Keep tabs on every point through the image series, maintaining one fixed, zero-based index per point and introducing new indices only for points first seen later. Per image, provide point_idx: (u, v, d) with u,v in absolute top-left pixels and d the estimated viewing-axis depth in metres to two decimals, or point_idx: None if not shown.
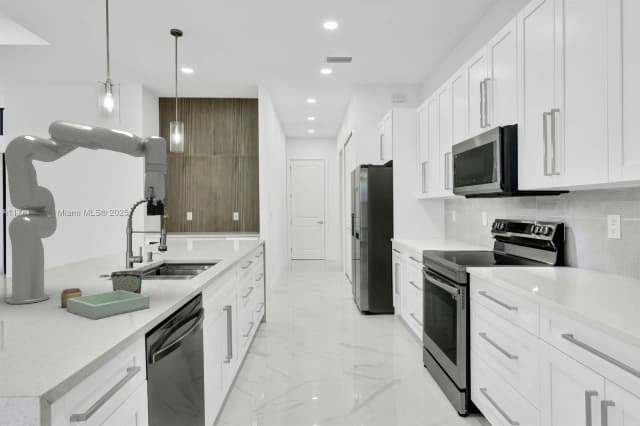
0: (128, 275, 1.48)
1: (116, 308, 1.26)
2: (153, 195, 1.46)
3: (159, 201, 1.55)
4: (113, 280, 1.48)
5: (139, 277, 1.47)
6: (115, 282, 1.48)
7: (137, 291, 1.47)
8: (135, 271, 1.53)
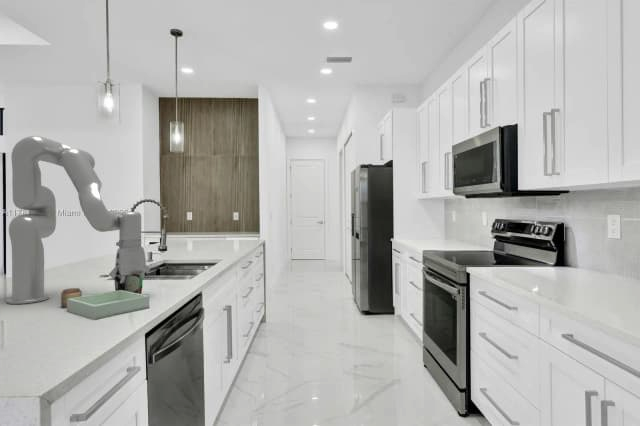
0: (129, 275, 1.48)
1: (116, 308, 1.26)
2: None
3: (119, 279, 1.47)
4: None
5: (139, 277, 1.47)
6: None
7: (137, 291, 1.47)
8: None
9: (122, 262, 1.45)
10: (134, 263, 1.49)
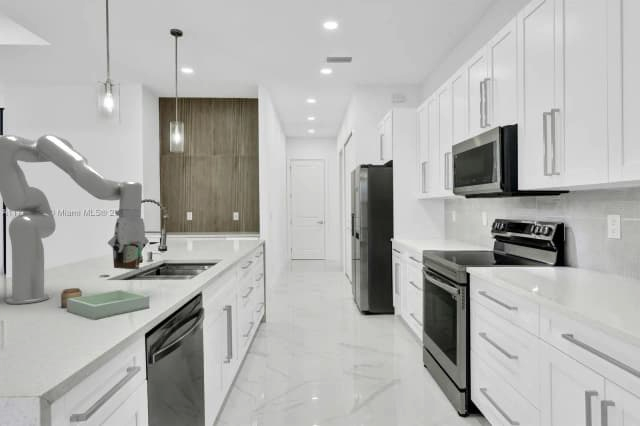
0: None
1: (116, 308, 1.26)
2: None
3: None
4: None
5: (138, 247, 1.47)
6: None
7: (135, 261, 1.47)
8: None
9: (121, 231, 1.45)
10: (133, 233, 1.49)
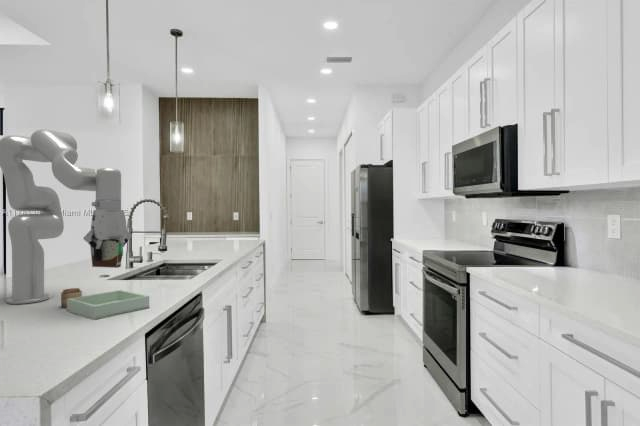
0: (107, 240, 1.30)
1: (116, 308, 1.26)
2: None
3: None
4: None
5: (118, 242, 1.30)
6: None
7: (116, 258, 1.30)
8: None
9: (98, 224, 1.28)
10: (112, 226, 1.31)
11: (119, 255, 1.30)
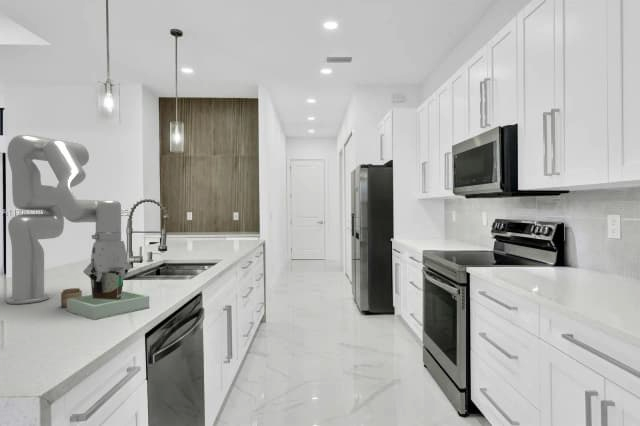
0: (107, 272, 1.30)
1: (116, 308, 1.26)
2: None
3: None
4: None
5: (118, 274, 1.30)
6: None
7: (116, 290, 1.30)
8: None
9: (98, 257, 1.28)
10: (112, 258, 1.31)
11: (119, 287, 1.30)
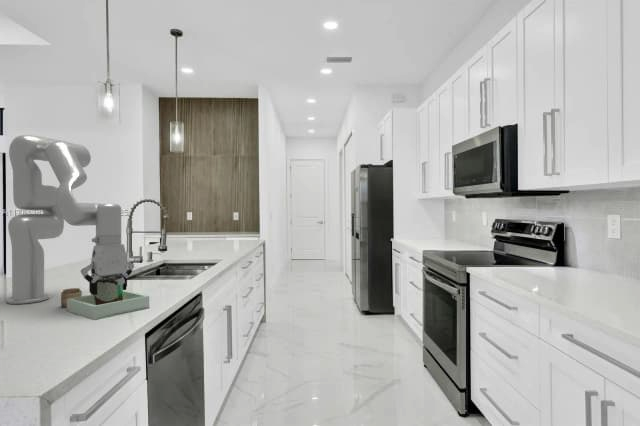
0: (106, 281, 1.31)
1: (116, 308, 1.26)
2: None
3: None
4: None
5: (117, 284, 1.30)
6: None
7: (116, 300, 1.30)
8: (118, 275, 1.36)
9: (98, 261, 1.28)
10: (112, 262, 1.31)
11: (119, 296, 1.31)
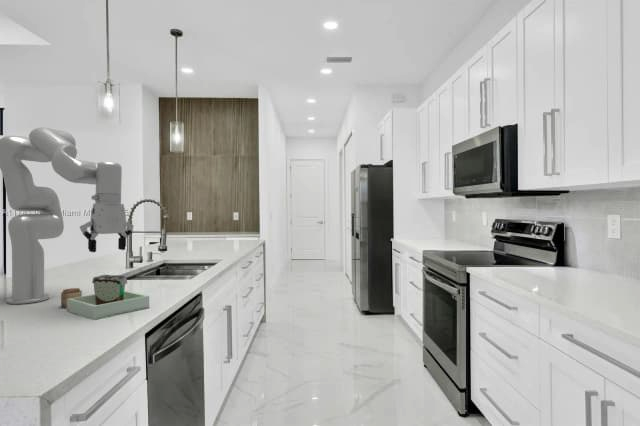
0: (109, 281, 1.32)
1: (116, 308, 1.26)
2: None
3: None
4: (95, 286, 1.34)
5: (119, 284, 1.31)
6: (96, 288, 1.33)
7: (117, 299, 1.31)
8: (120, 276, 1.37)
9: (98, 218, 1.28)
10: (112, 220, 1.31)
11: (120, 296, 1.31)
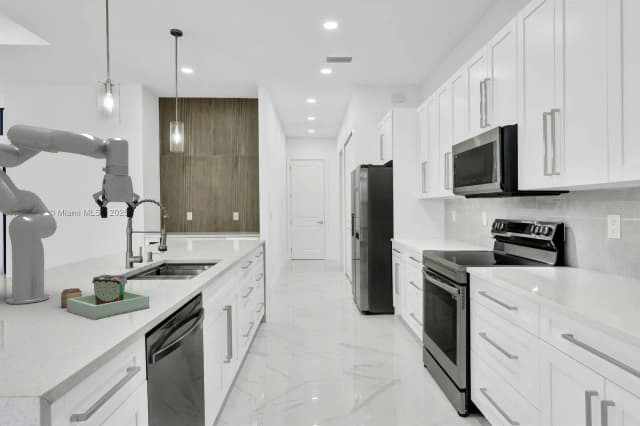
0: (109, 281, 1.32)
1: (116, 308, 1.26)
2: None
3: None
4: (95, 286, 1.34)
5: (119, 284, 1.31)
6: (96, 288, 1.33)
7: (117, 299, 1.31)
8: (120, 276, 1.37)
9: (108, 187, 1.43)
10: (121, 190, 1.46)
11: (120, 296, 1.31)
